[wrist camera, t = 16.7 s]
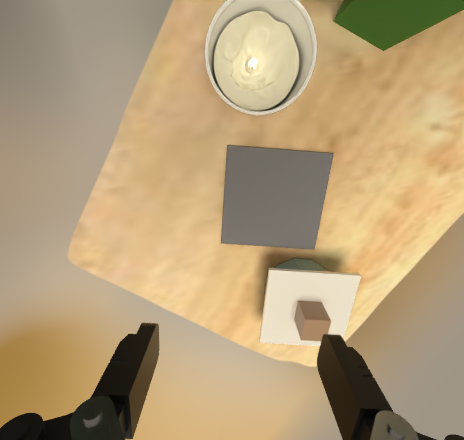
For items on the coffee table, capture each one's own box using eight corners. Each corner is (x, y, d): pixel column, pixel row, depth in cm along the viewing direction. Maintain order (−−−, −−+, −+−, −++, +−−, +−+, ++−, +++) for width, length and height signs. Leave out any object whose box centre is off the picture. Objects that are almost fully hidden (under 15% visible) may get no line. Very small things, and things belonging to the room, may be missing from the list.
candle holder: (232, 19, 32) (233, -42, 20) (302, 58, 33) (339, 21, 22) (201, 99, 35) (187, 84, 23) (266, 131, 36) (283, 133, 25)
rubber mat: (332, 153, 37) (333, 153, 37) (313, 248, 42) (314, 249, 42) (227, 145, 37) (227, 145, 36) (221, 242, 42) (220, 243, 41)
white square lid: (358, 273, 37) (375, 292, 33) (339, 344, 42) (352, 369, 37) (269, 267, 37) (273, 286, 33) (259, 339, 41) (262, 364, 37)
